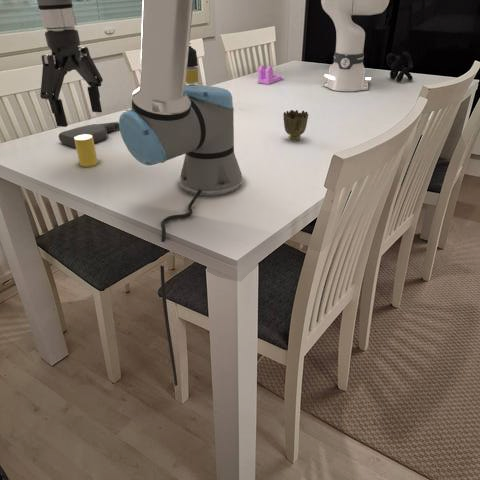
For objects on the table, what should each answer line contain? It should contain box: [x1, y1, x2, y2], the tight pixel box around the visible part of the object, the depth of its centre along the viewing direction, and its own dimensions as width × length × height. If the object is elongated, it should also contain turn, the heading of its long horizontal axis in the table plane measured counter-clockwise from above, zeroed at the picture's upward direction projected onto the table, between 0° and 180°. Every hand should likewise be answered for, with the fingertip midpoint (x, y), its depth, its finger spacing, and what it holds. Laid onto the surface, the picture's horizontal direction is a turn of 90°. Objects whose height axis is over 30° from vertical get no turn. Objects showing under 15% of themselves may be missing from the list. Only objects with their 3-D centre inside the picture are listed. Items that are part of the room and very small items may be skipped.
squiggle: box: [385, 51, 414, 83], centre depth 198 cm, size 11×10×15 cm
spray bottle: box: [58, 120, 120, 148], centre depth 142 cm, size 3×11×24 cm
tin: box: [74, 134, 99, 168], centre depth 121 cm, size 5×5×8 cm
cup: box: [282, 109, 309, 142], centre depth 134 cm, size 8×7×8 cm
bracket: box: [257, 65, 283, 85], centre depth 202 cm, size 13×6×7 cm, turn 143°
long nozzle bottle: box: [185, 42, 200, 86], centre depth 166 cm, size 6×6×30 cm
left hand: (80, 118), depth 116 cm, fingers open, 13 cm apart
